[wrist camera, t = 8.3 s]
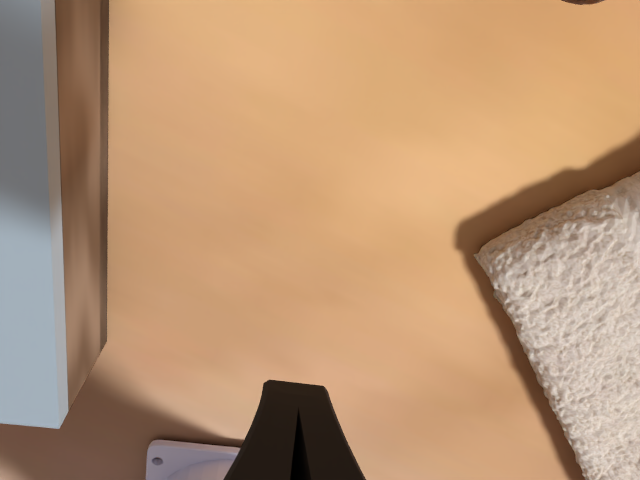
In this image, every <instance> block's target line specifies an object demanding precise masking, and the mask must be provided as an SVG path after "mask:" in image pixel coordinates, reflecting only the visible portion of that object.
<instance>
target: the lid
mask: <svg viewBox="0 0 640 480" xmlns="http://www.w3.org/2000/svg"><path fill="white" fill-rule="evenodd" d="M67 413H68V383H67V353H66V323H65V294H64V264H63V234H62V204H61V175H60V145H59V115H58V86H57V56H56V26H55V0H0V423H3V424H14V425H24V426H35V427H45V428H56V429H60V427H61V425H62V423H63V421H64V419H65V417H66V415H67Z"/></svg>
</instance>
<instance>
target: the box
mask: <svg viewBox="0 0 640 480" xmlns="http://www.w3.org/2000/svg"><path fill="white" fill-rule="evenodd" d="M55 26H56V56H57V86H58V115H59V145H60V175H61V204H62V234H63V264H64V294H65V323H66V353H67V383H68V410H70V408H71V406H72V404H73V402H74V400H75V399H76V397H77V395H78V393H79V391H80V389H81V388H82V386H83V384H84V382H85V380H86V378H87V377H88V375H89V373H90V371H91V369H92V367H93V366H94V364H95V362H96V360H97V358H98V356H99V355H100V353H101V351H102V349H103V347H104V345H105V344H106V342H107V217H108V56H109V0H55Z"/></svg>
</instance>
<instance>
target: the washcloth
mask: <svg viewBox="0 0 640 480" xmlns="http://www.w3.org/2000/svg"><path fill="white" fill-rule="evenodd" d="M474 257H475V258H476V260H477V261H478V263H479V264H480V265H481V266H482V268H483V270H485V273H486V275H487V276H488V277H490V282H491V285H492V286H493V287H494V289H495V291H494V295H493V297H494V298H497V300H498V302H500V303H501V304H502V305H503V310H504V311H505V312H506V314H507V315H508V316H509V317H510V319H511V321H512V323H513V324H514V327H515V329H516V332H517V337H518V338H519V341H520V343H521V345H522V346H523V349H524V351H523V352H525V353H526V355H527V357H528V360H529V362H530V364H531V367H532V368H533V370H534V372H535V373H536V378H537V381H538V383H539V385H540V386H542V387H543V389H544V395H545V396H546V397H547V398H548V399H549V405H550V406H551V408H552V411H554V413H555V414H556V416H557V420H559V423H560V425H561V426H562V429H563V430H564V436H565V437H566V438H567V440H568V442H569V444H570V446H571V447H572V449H573V450H574V452H575V455H576V462H577V463H578V464H579V465H580V467H581V469H582V471H583V473H582V475H583V476H584V477H585V480H640V171H639V172H637V173H635V174H633V175H632V176H631V177H626V178H623V179H621V180H619V181H617V182H616V183H614V184H613V185H612V186H609V187H605V188H604V189H602V190H595V189H592V190H588V191H586V192H585V193H584V194H581V195H577V196H575V197H574V198H573V199H571V200H569V201H567V202H565V203H563V204H562V205H560V206H557V207H553V208H550V210H549V211H547V212H543V213H541V214H539V215H538V216H537V217H535V218H532V219H528V220H525V221H524V223H522V224H521V225H519V226H517V227H515V228H512V229H510V230H509V231H507V232H505V233H502V234H501V235H500V236H498V237H496V238H495V239H492V240H490V241H489V242H488V243H486V244H485V245H484V246H482V247H481V250H480V252H479V253H477V254H474Z"/></svg>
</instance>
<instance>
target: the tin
mask: <svg viewBox="0 0 640 480" xmlns="http://www.w3.org/2000/svg"><path fill="white" fill-rule="evenodd" d="M562 1H565V2H568V3H573V4H579V5H583V4H596V3H598V2H601V1H604V0H562Z"/></svg>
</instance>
